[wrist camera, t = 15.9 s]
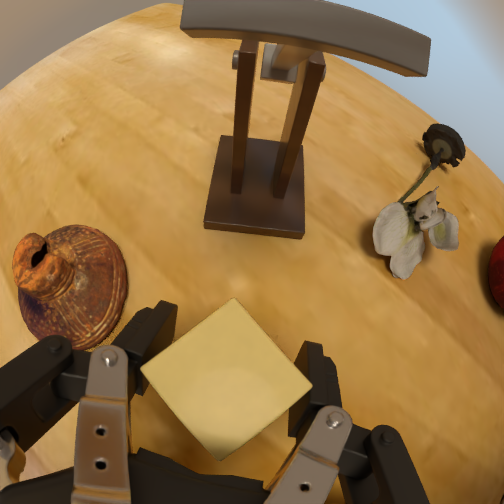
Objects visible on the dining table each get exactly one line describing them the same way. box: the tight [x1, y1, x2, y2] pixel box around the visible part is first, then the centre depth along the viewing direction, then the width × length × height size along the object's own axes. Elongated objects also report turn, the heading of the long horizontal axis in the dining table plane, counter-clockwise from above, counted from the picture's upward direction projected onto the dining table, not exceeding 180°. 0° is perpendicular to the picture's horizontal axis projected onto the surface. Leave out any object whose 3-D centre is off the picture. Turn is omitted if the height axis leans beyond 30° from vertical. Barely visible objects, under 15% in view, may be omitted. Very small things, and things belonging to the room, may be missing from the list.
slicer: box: [203, 40, 326, 239], centre depth 22 cm, size 11×9×16 cm
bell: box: [12, 225, 127, 351], centre depth 19 cm, size 12×12×7 cm
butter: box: [140, 297, 312, 461], centre depth 12 cm, size 4×4×8 cm
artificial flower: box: [372, 124, 466, 279], centre depth 27 cm, size 9×22×10 cm, turn 136°
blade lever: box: [180, 0, 431, 84], centre depth 11 cm, size 14×7×2 cm
